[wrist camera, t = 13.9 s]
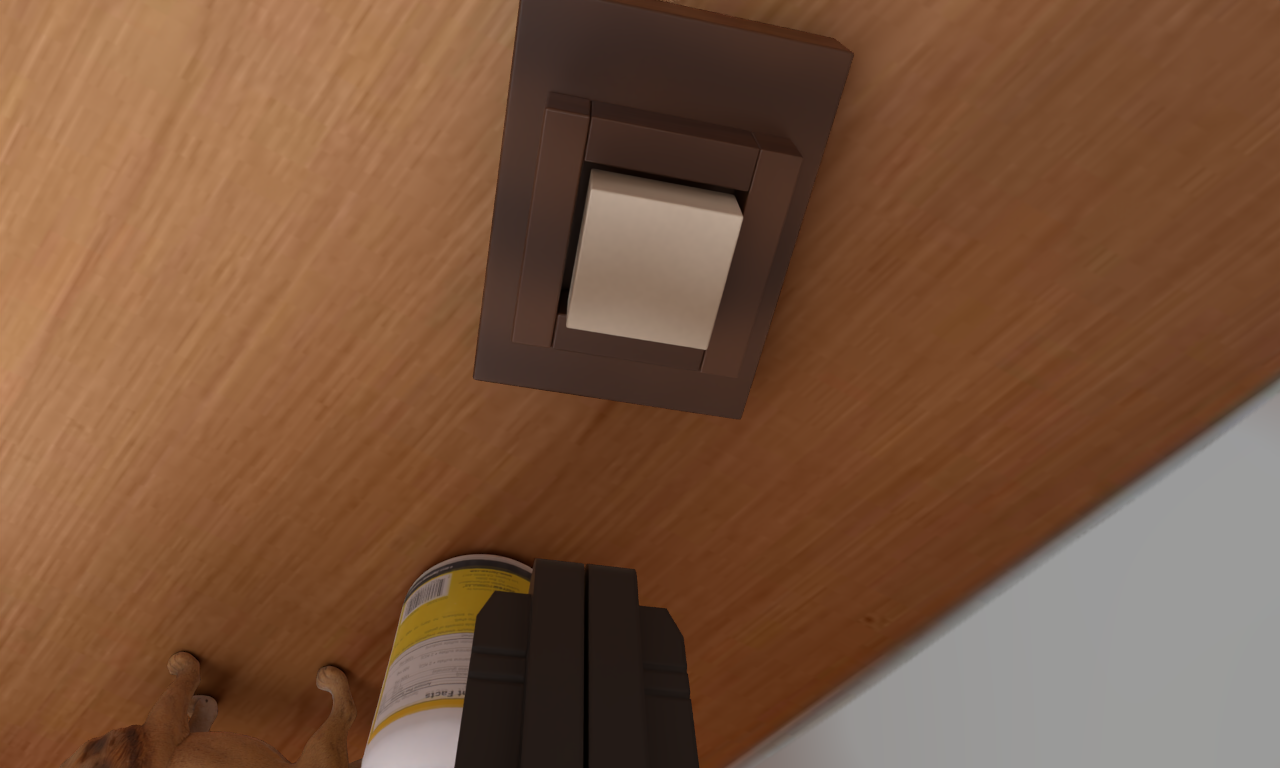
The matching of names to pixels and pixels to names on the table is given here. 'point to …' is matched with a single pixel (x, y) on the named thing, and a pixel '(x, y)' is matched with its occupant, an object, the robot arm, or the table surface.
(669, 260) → the key
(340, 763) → the lion figurine
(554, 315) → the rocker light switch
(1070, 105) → the table surface
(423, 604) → the pill bottle
